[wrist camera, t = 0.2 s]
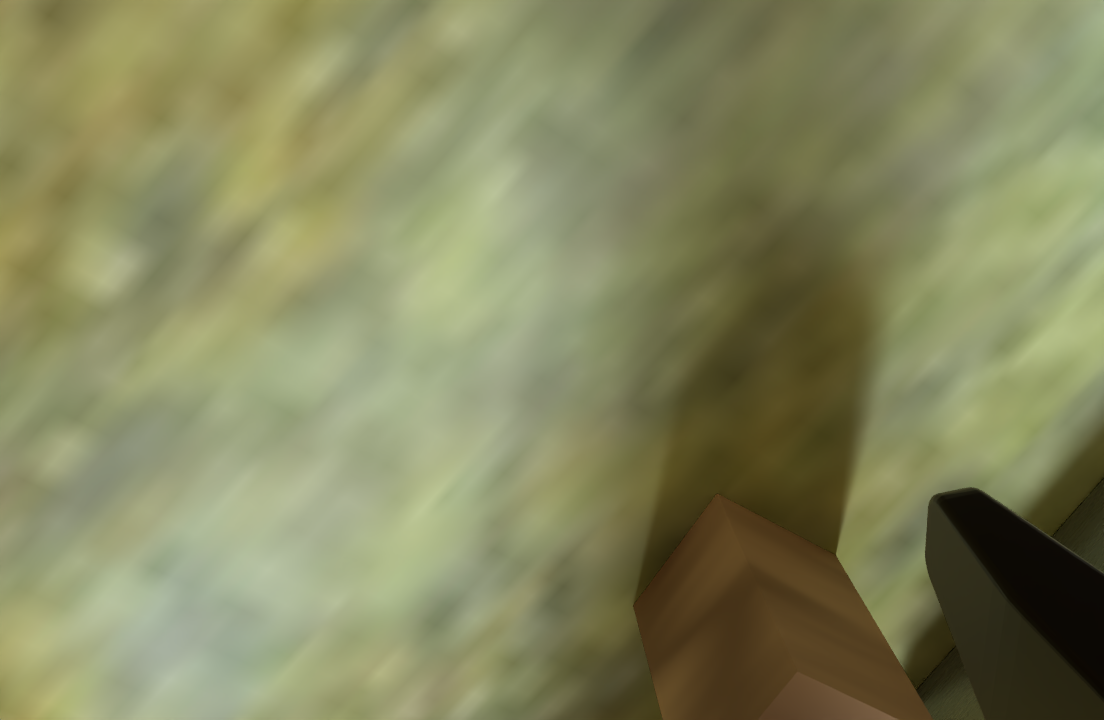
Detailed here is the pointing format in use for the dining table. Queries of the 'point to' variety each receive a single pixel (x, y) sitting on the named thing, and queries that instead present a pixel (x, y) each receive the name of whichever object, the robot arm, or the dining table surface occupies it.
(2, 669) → the dining table surface
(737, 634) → the brown wooden block
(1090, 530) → the box
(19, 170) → the dining table surface
